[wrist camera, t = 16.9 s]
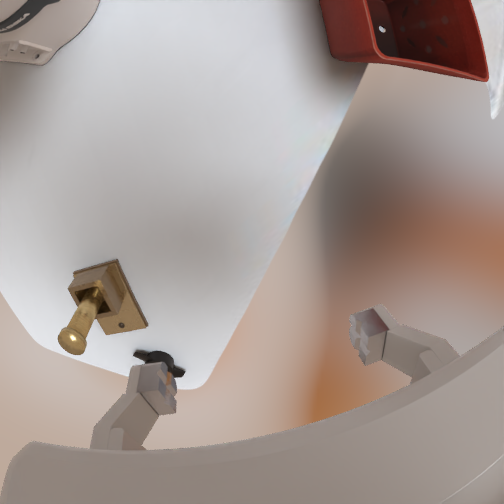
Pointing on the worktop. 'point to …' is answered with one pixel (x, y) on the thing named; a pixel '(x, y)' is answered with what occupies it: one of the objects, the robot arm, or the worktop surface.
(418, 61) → the plant pot
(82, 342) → the hinge pin
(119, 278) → the brass socket plate
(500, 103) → the worktop surface
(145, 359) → the black ring with tabs
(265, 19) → the worktop surface
